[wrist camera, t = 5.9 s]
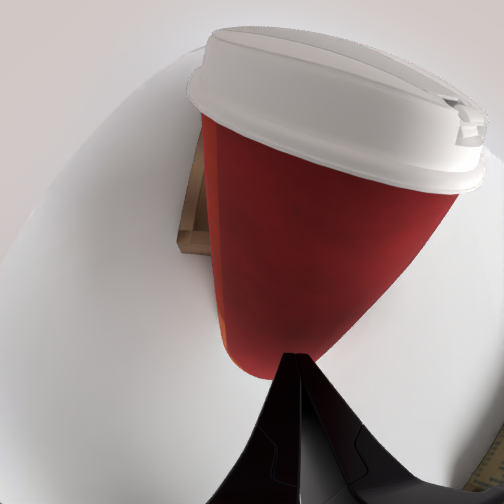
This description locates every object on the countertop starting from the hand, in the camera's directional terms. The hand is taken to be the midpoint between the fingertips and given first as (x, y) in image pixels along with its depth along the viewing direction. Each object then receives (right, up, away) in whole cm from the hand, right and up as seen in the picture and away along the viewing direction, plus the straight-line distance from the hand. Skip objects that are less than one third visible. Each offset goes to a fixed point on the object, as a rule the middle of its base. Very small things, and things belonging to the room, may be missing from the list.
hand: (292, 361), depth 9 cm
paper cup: (0, -1, +7) cm, 7 cm away
